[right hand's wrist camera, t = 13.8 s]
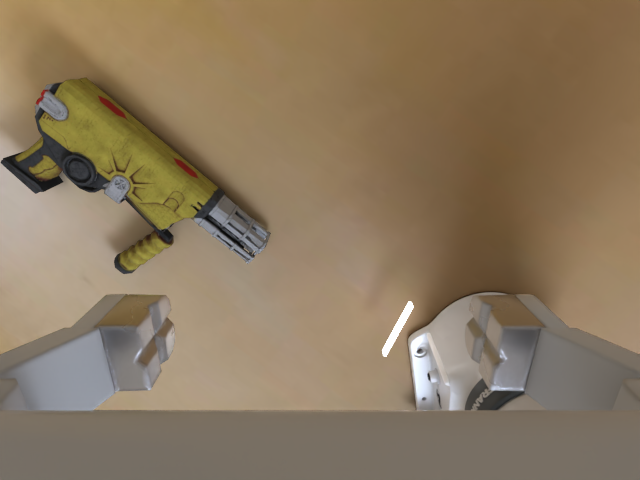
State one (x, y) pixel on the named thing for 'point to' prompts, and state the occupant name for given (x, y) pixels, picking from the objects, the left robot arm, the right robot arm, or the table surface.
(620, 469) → the right robot arm
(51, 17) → the table surface
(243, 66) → the table surface
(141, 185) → the toy gun
